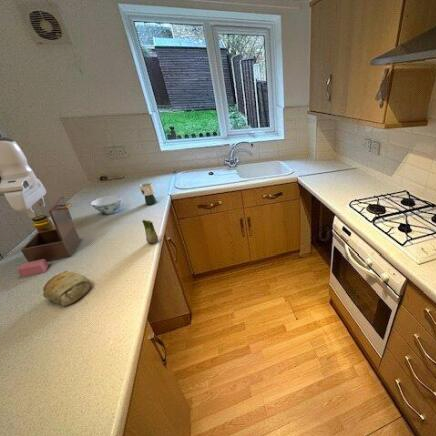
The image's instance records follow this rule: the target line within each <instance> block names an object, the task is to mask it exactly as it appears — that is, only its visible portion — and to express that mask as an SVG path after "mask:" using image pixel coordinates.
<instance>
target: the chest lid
mask: <svg viewBox="0 0 436 436" xmlns="http://www.w3.org/2000/svg"><path fill="white" fill-rule="evenodd" d="M72 206H73V205H72V203H71V202H67V201H66V199H65V196H61V197H60V198H59V199H58V200H57V201H56V202H55V203H54V204H53V205H52V206H51V207H50V208H49V209H48V213H49V216H50V218H51V222H52V224H53V226H54V228H55V229H56V231H57V233H58V235H59V238H60V240H61V241H63V240H64V239H65V237H66V236H67V235H68V233H69V232H70V230H71V229H72V227H73V226H74V227H75V223H74V220H73V218H72V215H71V213H70V210H69V209H70V208H71V207H72Z"/></svg>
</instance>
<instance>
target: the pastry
mask: <svg viewBox="0 0 436 436" xmlns="http://www.w3.org/2000/svg"><path fill="white" fill-rule="evenodd" d="M90 285H91V280H90V279H89V278H88V277H86V276H85V275H82V274H80V273H79V272H76V271H70V270H69V271H68V270H64V271H63V272H61V273H59V274H57V275H54V276H53V277H52V278H50V279H48V281H47V282H46V283H45V284H44V286H43V287H42V291H43V292H42V297H44V299H45V298H46V299H48V300H49V301H51V302H52V303H54V304H58V305H61V306H62V307H68V306H69V305H72V304H74V303H75V302H76V301H78V300H79V299H81V298H83V296H84V295H86V294H87V293H88V292H89V291H90V289H91V287H90Z"/></svg>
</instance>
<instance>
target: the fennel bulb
mask: <svg viewBox="0 0 436 436" xmlns="http://www.w3.org/2000/svg"><path fill="white" fill-rule="evenodd" d="M141 222H142V224H143V227H144V230H145V238H146V239H145V240H146V242H147V243H148V244H151V245H152V244H153V245H154V244H157V243H158V241H159V237H158V234H157V232H156V230H155V226H154V222H153V221H150V219H149V220H147V219H142V220H141Z"/></svg>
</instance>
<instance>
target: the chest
mask: <svg viewBox="0 0 436 436" xmlns="http://www.w3.org/2000/svg"><path fill="white" fill-rule="evenodd" d="M80 241H81V238H80V235H79V234H78V232H77V230H76V228H75V225H74V226H73V227H72V229H71V230H70V232H69V233H68V235H67V236H66V237H65V239H64V240H63V241H61V240H60V238H59V235H58V233H57V231H56V228H55V229H54V230H48V231H42V232H38V231H37V232H35V234H34V235H33V236H31V238H30V239H29V241H27V243H25V244H24V246H23V247H22V248H21V249H20V252H21V253H22V255H23V256H24V257H25V259H26V260H27V262H32V261H37V260H42V259H45V260H46V262H47V263H48V262H51V261H57V260H60V259H65V258H69V257H71V256H72V255H73V253H74V251H75V250H76V248H77V246H78V244H79V243H80Z"/></svg>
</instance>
